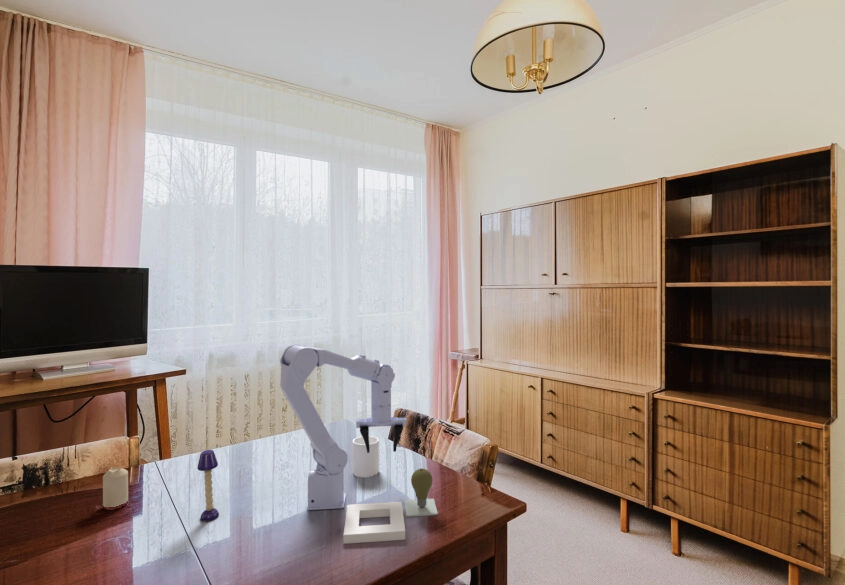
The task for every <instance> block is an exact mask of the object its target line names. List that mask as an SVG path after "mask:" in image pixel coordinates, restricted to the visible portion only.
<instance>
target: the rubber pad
mask: <svg viewBox="0 0 845 585" xmlns="http://www.w3.org/2000/svg"><path fill="white" fill-rule="evenodd" d="M404 508H405V515H406V518H412V517H427V516H439V513H438V510H437V506H436V502H435V498H427V500H426V506H425V507H424V508H420V507H419V506H418V505H417V499H406V500H405V499H404Z"/></svg>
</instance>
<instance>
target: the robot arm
mask: <svg viewBox="0 0 845 585" xmlns="http://www.w3.org/2000/svg"><path fill="white" fill-rule="evenodd" d="M366 356H367V355H364V354H359V355H354V356H353V357H347V356H345V355H342V354H340V353H339V354H338V353H335V352H332V351H329V350H328V349H327V350H326V349H323V348H319V347H313V346H306V345H305V346H302V345H299V344H291V345H288V346H287V347H286V348H285V349H284V351H283V353H282V355H281V357H280V360H279V363H280V389H281V391H282V392H283V394H284V397H285V399H286V400H287V401H288V404H289V406H290V407H291V409H292V410H293V413H294V414H295V416H296V417H297V420H298V421H299V424H300V425H301V427H302V429H303V431H304V433H305V434H306V436H307V437H308V439H309V440H310V444H309V445H310V447H311V448H312V458H313V460H314V461H315V462H316V468H315V469H310V470H309V471H308V476H307V510H308V511H316V510H317V511H318V510H335V509H344V508H345V505H346V504H345V503H346V499H347V498H346V496H347V493H346V492H344V490H345V489H344V486H345V484H344V483H345V482H344V479H345V478H344V475H345V474H344V473H345V472H344V469H345V468H346V466H347V464H348V460H349V458H348V454H347V452H346V451H345V450H344V449H342V448H341V447H339V445H338V443H337V442H336V440H334V438H333V437H332V436H331V435H330V433H329V431H328V430H327V427H326V425H325V424H324V422H323V420H322V418H321V416H320V414H319V413H318V411H317V409H316V407H315V406H314V404H313V402H312V400H311V398H310V396H309V395H308V393H307V390H306V389H305V388H304V386H305V383H306V381H307V379H308V378H309V377H310V375H311V374H312V372H313V371H314V370H315V369H316V367H318V368H321V367H322V366H324V365H325V364H326V365H330V366H334V367H338V368H342V369H345V370H347V371H348V374H349V375H350V376H352V377H355V378H359V379H363V380H366V381H370V383H371V391H370V392H371V395H370V396H371V397H370V398H371V400H370V401H371V403H370V404H371V407H370V409H371V411H370V413H371V417H367V418H362V419H360V418H358V419H356V421H355V429H359V432H360V434H361V436H362V437H363V439H364V441H365V445H366V449H367V453H369V436H370V433H369V432H370V427H372V428H375V427H393V442H392V443H393V445H392V446H393V452H395V453H396V452H397V447H398V443H399V442H398V441H399V439H400V437H401V434H402V432H403V430H404V427H407V418H406V417H394V416H392V384H393V381H394V380H395V379H396V378H395V377H396V373H395V372H394V369H393V368H392V366H391V365H389V364H385V363H381V362H380V360H378V359H374V360H372V359H369V358H366Z"/></svg>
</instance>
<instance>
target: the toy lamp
mask: <svg viewBox="0 0 845 585" xmlns="http://www.w3.org/2000/svg"><path fill="white" fill-rule="evenodd" d="M218 465H219V463H218V459H217V457H216V453H215V451H214V450H213V449H206V450H203V451H201V452H200V454H199V458H198V464H197V470H198V471H201V472H204V477H203V478H204V486H205V487H204V491H205V493H204V494H205V495H204V496H205V504H206V505H205V510H203V512H202V513H201V515H200V519H199V520H201V521H202V522H210V521H214V520H215V519H217V518H218V517H219V515H220V513H219V510H218V509H217V508H214V498H213V496H214V493H213V480H212V478H213V474H212V472H213V470H214V469H216V468H217V467H218Z"/></svg>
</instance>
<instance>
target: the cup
mask: <svg viewBox="0 0 845 585" xmlns="http://www.w3.org/2000/svg"><path fill="white" fill-rule="evenodd" d="M379 444H380V440H379V438H378V437H376V436H372V435H369V453H367V449H366V445H365V441H364V439H363V437H362V435H361V436H358V437H355V438H353V439H352V474H353V476H355V477H357V478H371V477H374V476H373V475H375V474H376V475H378V474H379V473H378V472H380V461H379V460H380V450H379V448H380V445H379ZM377 473H378V474H377ZM376 475H375V476H376ZM370 476H371V477H370Z"/></svg>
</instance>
